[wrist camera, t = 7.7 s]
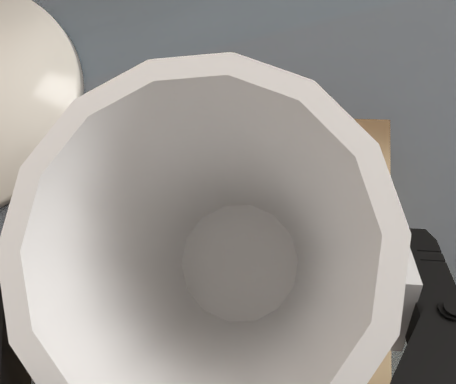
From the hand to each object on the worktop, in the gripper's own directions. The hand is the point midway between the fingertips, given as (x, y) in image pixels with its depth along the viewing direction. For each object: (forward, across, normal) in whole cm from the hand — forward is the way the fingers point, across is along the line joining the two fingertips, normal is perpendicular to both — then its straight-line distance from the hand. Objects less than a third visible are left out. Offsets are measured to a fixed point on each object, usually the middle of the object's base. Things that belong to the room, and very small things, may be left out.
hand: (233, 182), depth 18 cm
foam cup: (+2, 0, -6) cm, 6 cm away
